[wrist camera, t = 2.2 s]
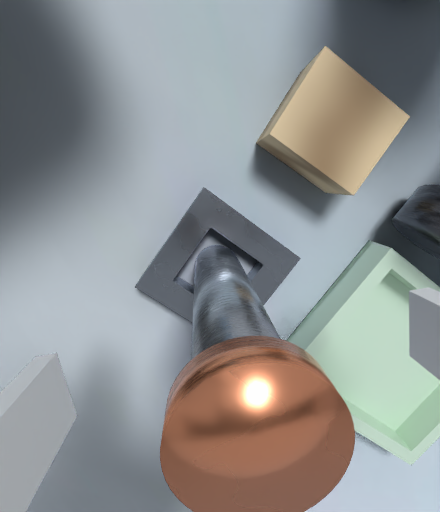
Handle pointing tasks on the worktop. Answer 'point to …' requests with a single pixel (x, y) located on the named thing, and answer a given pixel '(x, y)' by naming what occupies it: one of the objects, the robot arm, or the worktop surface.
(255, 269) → the collar
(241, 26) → the worktop surface
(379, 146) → the block
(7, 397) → the robot arm
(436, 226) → the trolley
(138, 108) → the worktop surface
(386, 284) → the tray
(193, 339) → the pin
